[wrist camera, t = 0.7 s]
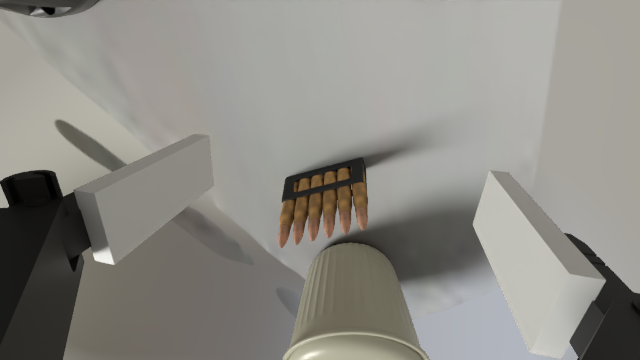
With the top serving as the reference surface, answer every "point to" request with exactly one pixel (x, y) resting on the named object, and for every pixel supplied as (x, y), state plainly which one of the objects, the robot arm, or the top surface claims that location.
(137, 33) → the top surface
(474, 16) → the top surface
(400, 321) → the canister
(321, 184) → the ammunition clip
